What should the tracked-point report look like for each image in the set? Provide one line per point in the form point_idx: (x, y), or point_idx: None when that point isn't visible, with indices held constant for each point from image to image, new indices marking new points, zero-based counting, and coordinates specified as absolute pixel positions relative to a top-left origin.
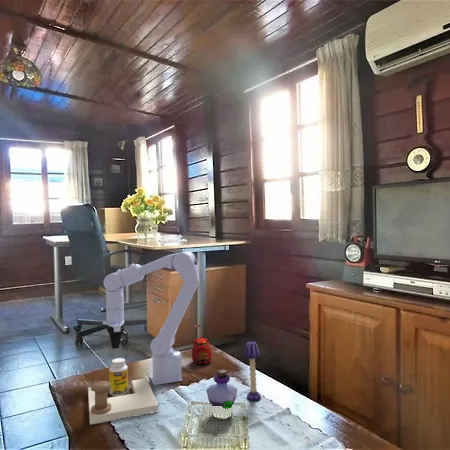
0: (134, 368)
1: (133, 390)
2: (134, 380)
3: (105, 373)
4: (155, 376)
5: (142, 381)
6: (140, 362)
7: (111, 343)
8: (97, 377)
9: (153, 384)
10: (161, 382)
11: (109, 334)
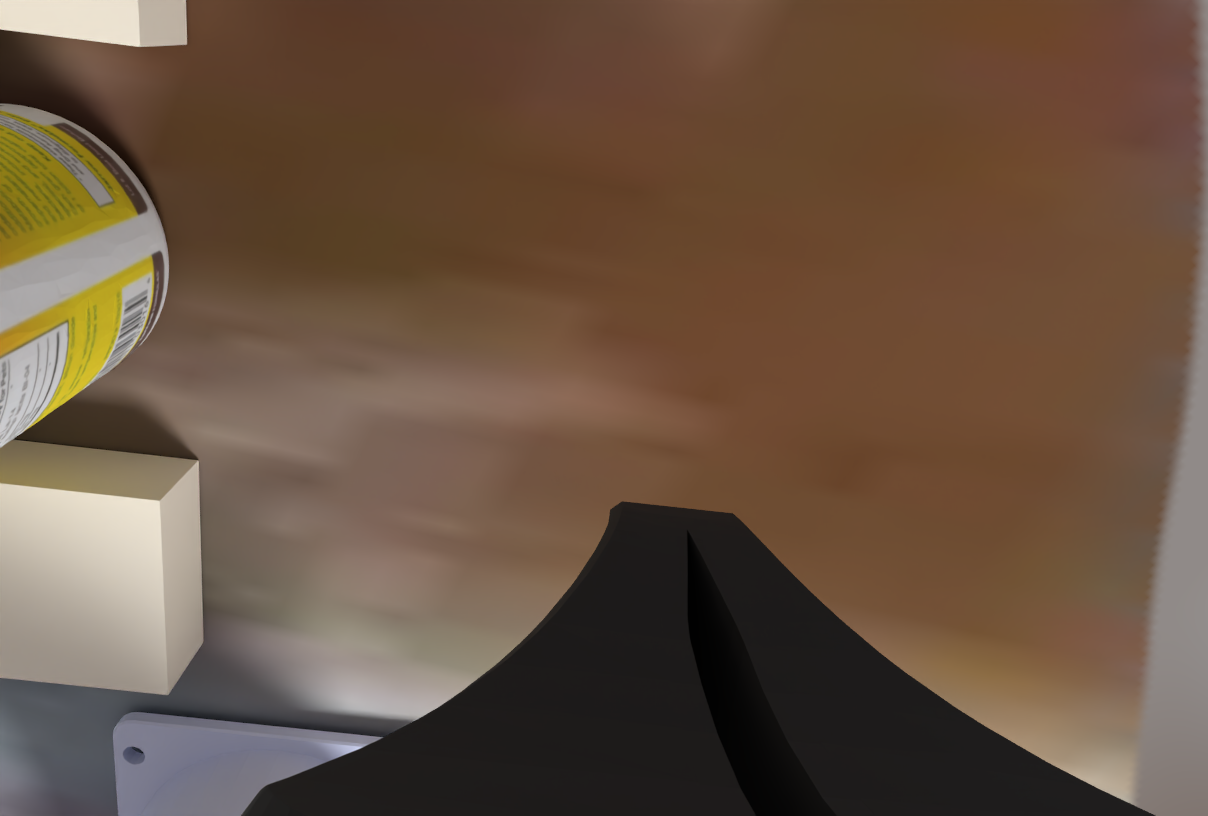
0: (893, 651)
1: (9, 447)
2: (149, 535)
3: (961, 214)
4: (171, 808)
5: (72, 622)
6: (1082, 775)
7: (594, 557)
8: (856, 48)
9: (137, 712)
10: (131, 806)
11: (382, 740)
